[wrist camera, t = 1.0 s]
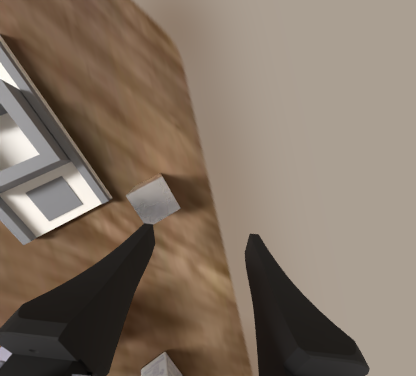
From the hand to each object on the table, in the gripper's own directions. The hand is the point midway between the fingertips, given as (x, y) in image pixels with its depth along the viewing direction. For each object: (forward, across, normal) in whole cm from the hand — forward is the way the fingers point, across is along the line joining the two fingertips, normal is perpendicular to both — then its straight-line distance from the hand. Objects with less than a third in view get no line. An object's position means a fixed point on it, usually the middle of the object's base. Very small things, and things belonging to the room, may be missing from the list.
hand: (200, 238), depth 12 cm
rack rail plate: (+8, +22, -3) cm, 23 cm away
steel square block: (+11, +8, +4) cm, 14 cm away
